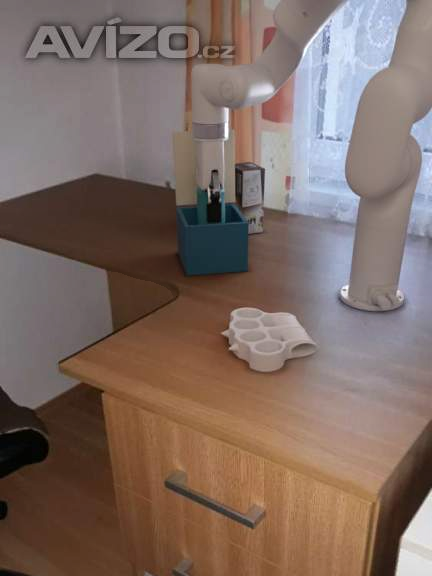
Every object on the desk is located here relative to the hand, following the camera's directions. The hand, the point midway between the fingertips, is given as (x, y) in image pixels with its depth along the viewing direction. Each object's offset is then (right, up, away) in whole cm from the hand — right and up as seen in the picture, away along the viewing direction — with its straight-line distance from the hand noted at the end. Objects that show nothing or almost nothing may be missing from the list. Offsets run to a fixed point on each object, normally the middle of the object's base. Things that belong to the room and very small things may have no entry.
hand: (211, 216), depth 135 cm
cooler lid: (-1, +11, +2) cm, 12 cm away
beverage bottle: (0, -8, +5) cm, 10 cm away
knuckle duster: (+10, -31, -29) cm, 43 cm away
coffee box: (+9, +4, +26) cm, 28 cm away
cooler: (0, -9, +6) cm, 11 cm away
